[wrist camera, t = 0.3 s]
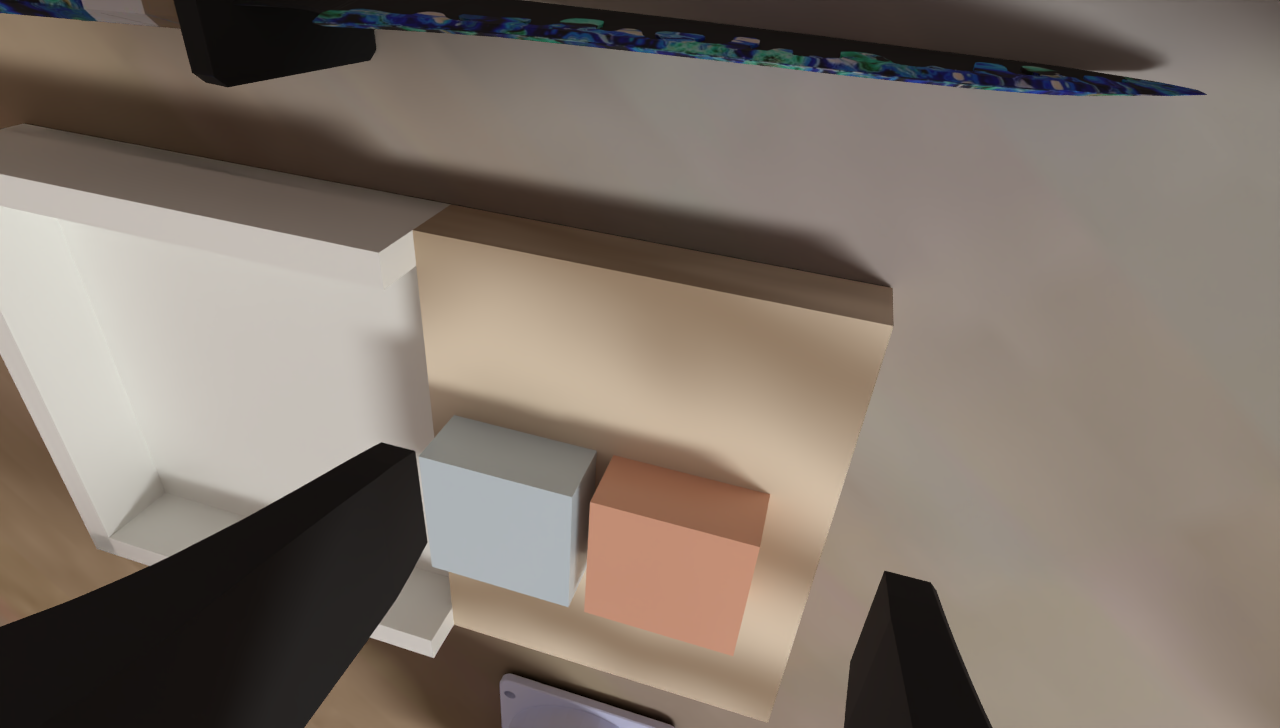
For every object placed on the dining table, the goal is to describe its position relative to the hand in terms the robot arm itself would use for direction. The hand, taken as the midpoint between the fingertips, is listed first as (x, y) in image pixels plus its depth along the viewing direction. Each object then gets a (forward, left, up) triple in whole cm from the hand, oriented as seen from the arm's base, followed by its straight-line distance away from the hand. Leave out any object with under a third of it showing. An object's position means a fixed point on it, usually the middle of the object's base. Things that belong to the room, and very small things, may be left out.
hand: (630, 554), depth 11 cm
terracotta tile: (-7, 0, -8) cm, 11 cm away
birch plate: (-7, +2, -10) cm, 12 cm away
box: (-7, +16, -10) cm, 20 cm away
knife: (+6, +7, -10) cm, 13 cm away
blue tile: (-7, +5, -8) cm, 12 cm away
